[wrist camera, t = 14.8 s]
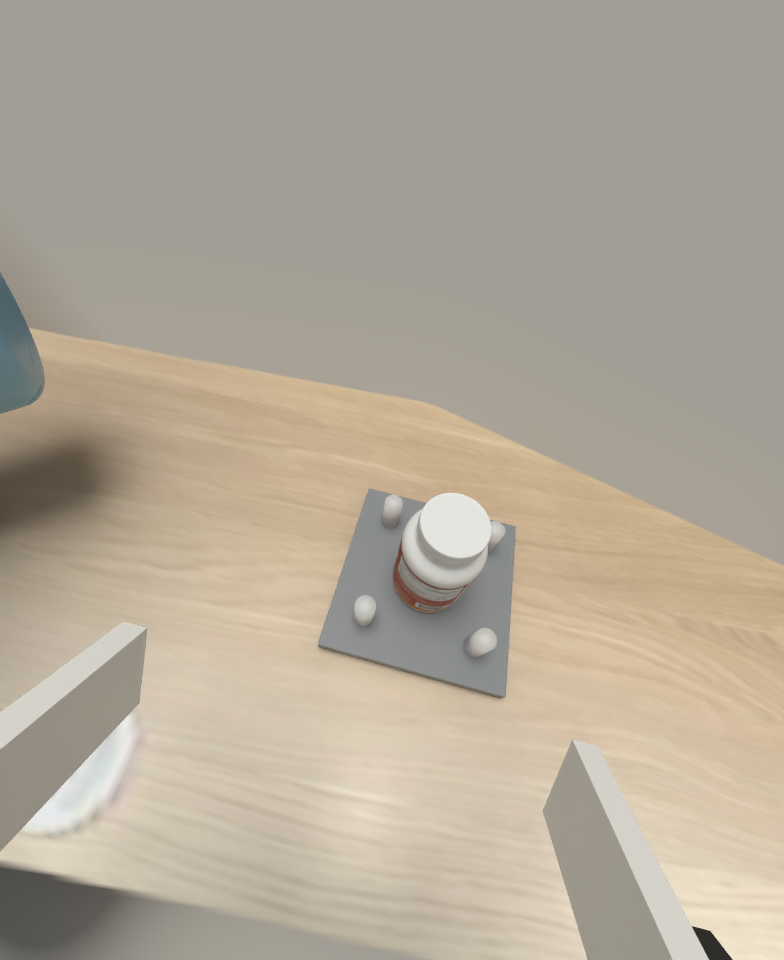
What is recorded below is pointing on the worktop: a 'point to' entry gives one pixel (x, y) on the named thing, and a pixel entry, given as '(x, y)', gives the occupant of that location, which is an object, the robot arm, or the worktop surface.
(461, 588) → the pill bottle
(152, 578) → the worktop surface
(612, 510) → the worktop surface
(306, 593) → the worktop surface
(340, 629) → the peg board
